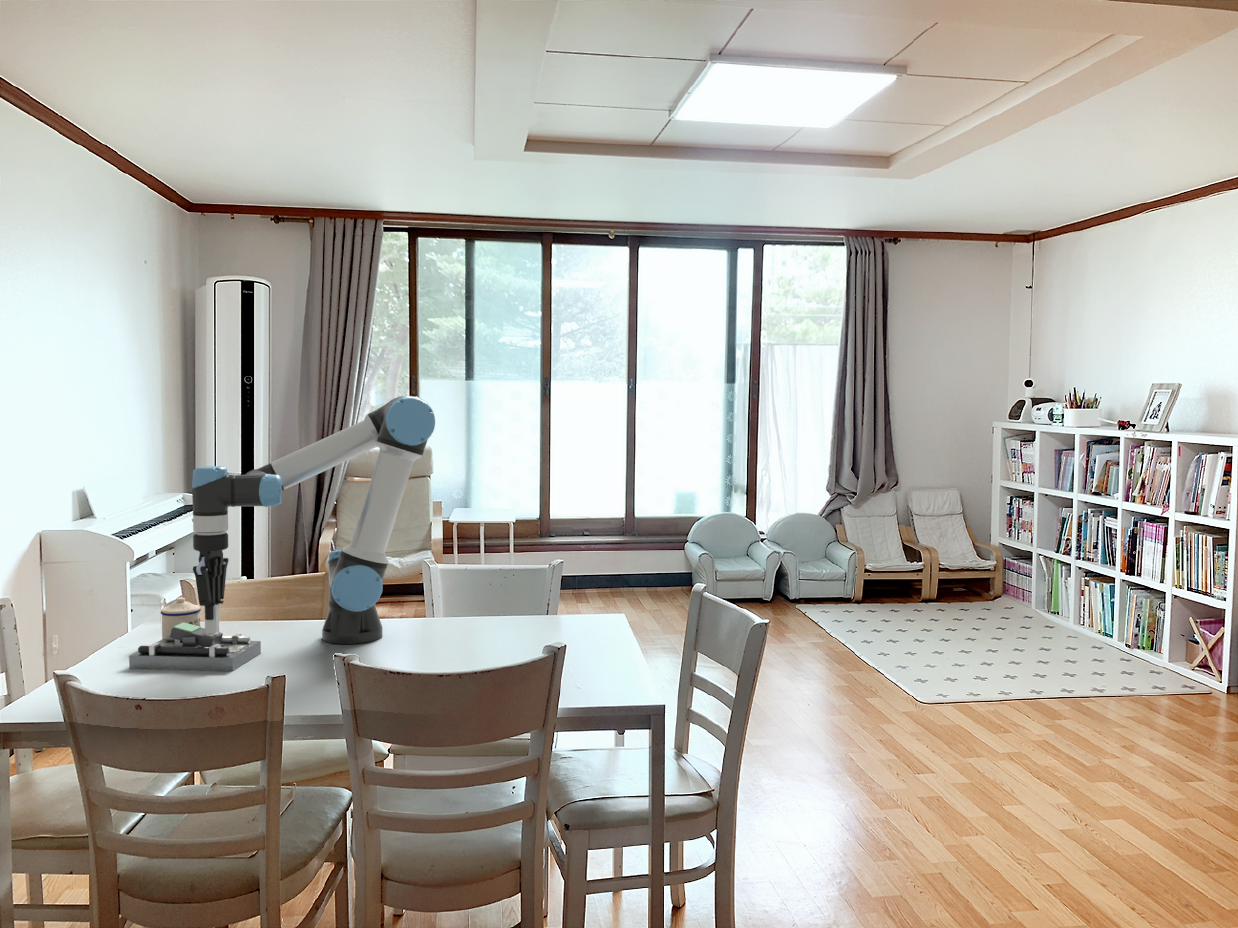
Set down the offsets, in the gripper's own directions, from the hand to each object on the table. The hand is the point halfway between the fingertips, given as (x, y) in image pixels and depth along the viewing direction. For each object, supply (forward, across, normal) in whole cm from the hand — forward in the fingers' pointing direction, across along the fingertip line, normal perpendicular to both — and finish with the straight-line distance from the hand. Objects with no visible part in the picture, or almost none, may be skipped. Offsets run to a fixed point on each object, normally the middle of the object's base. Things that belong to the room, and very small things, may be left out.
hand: (212, 632), depth 219 cm
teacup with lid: (+7, -16, -15) cm, 23 cm away
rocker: (+2, 0, -4) cm, 5 cm away
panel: (+7, 0, -4) cm, 8 cm away
